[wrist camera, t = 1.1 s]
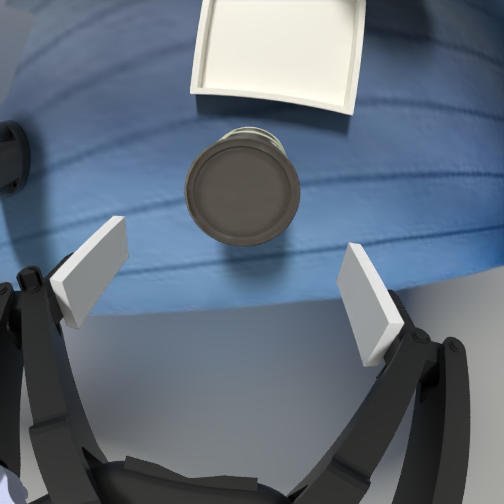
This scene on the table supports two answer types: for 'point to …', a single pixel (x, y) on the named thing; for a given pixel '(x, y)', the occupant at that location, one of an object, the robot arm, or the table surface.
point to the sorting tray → (281, 51)
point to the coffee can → (243, 188)
